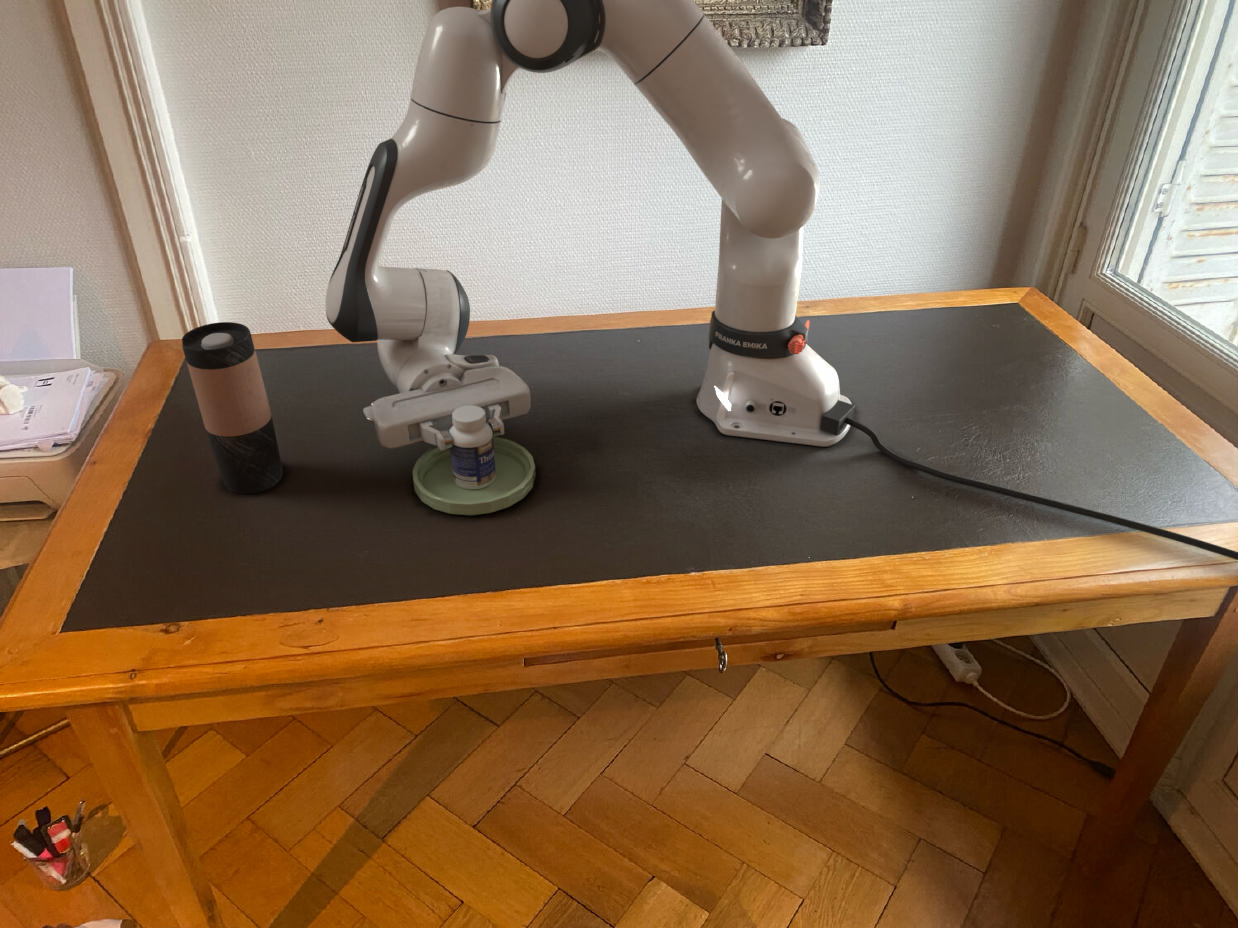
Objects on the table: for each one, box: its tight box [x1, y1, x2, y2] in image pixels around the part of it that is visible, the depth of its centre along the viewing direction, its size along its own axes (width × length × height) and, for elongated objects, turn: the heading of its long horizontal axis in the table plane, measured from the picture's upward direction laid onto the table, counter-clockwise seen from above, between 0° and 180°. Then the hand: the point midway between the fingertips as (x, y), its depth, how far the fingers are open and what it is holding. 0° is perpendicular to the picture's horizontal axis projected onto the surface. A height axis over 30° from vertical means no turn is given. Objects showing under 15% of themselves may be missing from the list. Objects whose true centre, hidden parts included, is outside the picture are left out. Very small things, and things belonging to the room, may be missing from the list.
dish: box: [412, 436, 537, 516], centre depth 112 cm, size 15×15×2 cm
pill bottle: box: [449, 405, 496, 489], centre depth 110 cm, size 5×5×10 cm
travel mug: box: [181, 321, 284, 495], centre depth 107 cm, size 8×8×20 cm
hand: (473, 437), depth 108 cm, fingers closed on pill bottle, 5 cm apart
